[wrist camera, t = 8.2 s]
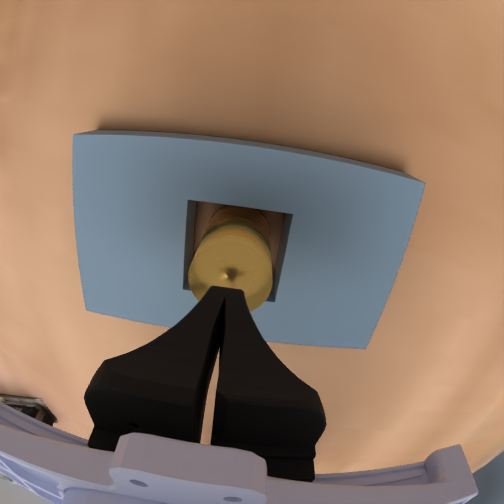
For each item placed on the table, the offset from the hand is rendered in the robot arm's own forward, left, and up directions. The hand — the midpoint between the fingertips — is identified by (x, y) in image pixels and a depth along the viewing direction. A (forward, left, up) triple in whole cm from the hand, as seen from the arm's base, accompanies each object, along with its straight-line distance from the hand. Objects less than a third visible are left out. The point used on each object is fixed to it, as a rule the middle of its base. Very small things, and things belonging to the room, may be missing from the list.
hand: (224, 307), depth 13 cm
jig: (0, 0, -8) cm, 8 cm away
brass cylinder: (0, 0, -8) cm, 8 cm away
